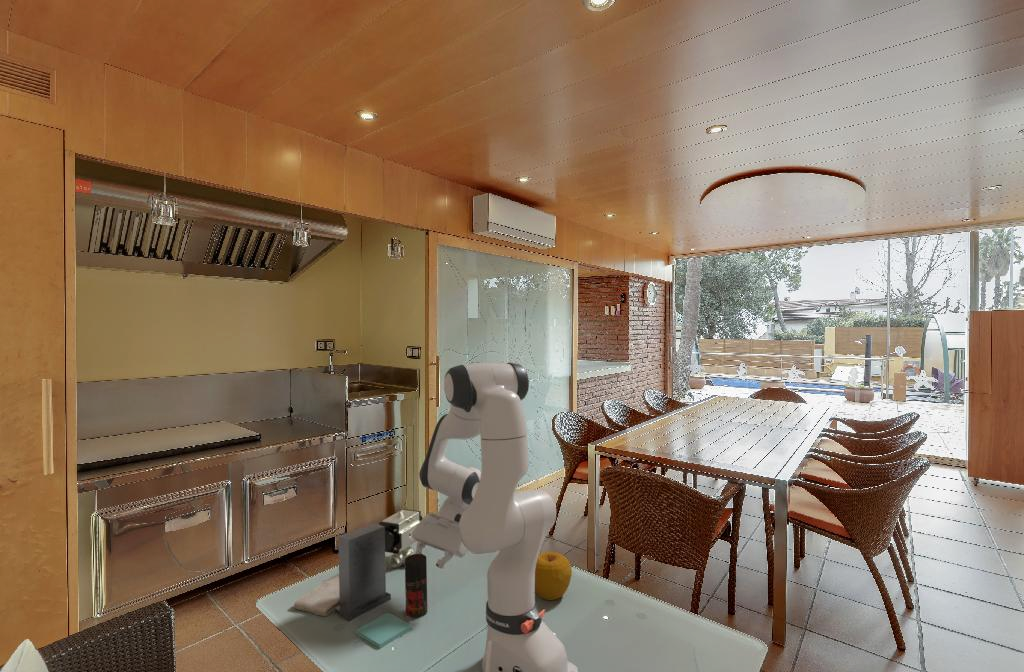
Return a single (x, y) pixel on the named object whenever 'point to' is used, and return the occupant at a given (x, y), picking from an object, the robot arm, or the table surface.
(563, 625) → the table surface
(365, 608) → the block
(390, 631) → the plate
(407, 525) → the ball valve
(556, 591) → the apple
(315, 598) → the washcloth
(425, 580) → the deodorant
